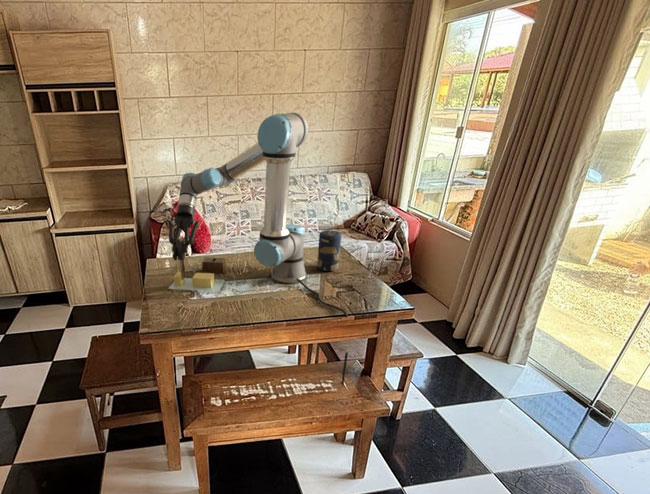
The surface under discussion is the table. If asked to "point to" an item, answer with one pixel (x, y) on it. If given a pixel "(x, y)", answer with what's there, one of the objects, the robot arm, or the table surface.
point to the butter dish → (189, 286)
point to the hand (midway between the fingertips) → (178, 259)
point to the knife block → (214, 265)
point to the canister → (329, 250)
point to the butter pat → (178, 279)
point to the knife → (179, 247)
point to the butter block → (203, 280)
